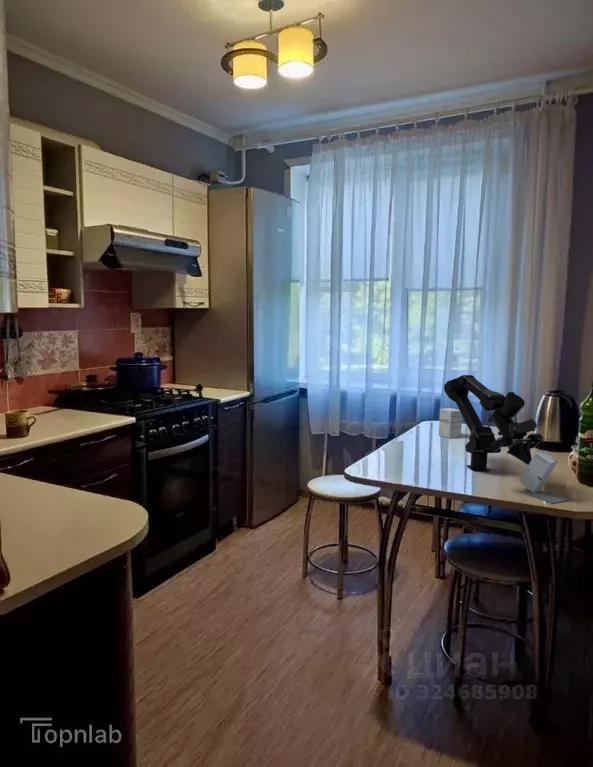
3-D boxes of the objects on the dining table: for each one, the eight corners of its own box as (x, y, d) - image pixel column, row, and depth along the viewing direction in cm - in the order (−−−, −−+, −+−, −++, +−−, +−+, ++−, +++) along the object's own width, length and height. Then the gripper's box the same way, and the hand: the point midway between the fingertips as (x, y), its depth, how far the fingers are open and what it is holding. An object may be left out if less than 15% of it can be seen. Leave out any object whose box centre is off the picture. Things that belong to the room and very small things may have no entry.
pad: (528, 494, 176) (528, 493, 176) (546, 491, 180) (547, 490, 180) (552, 503, 168) (552, 502, 168) (571, 500, 172) (571, 499, 172)
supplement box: (438, 435, 259) (439, 408, 257) (450, 434, 262) (451, 407, 261) (449, 438, 253) (450, 411, 251) (461, 437, 256) (463, 410, 254)
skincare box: (518, 482, 181) (534, 451, 176) (526, 479, 184) (542, 449, 179) (534, 494, 177) (550, 463, 172) (542, 491, 180) (558, 461, 175)
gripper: (499, 412, 179) (525, 454, 170) (540, 409, 187) (567, 448, 178) (480, 432, 187) (504, 472, 178) (520, 428, 195) (545, 466, 186)
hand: (530, 464), depth 180 cm, fingers closed
